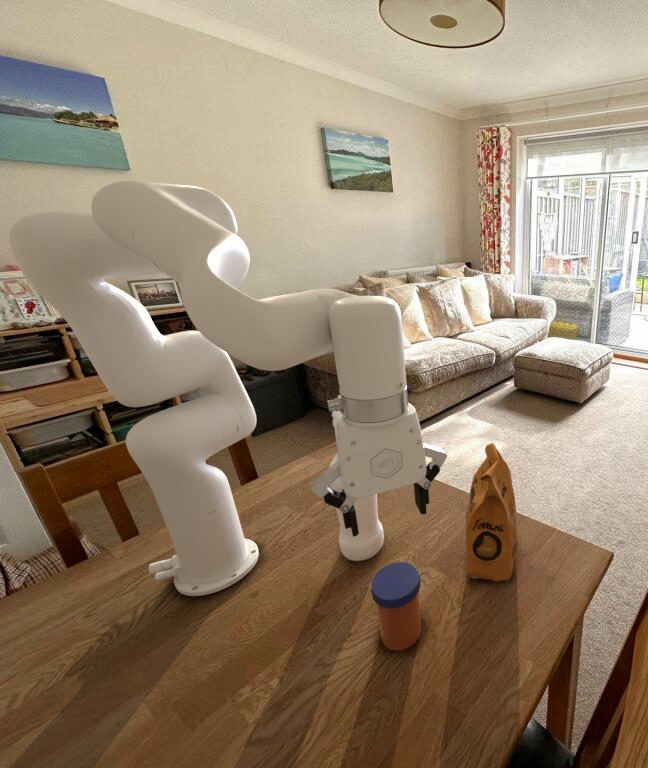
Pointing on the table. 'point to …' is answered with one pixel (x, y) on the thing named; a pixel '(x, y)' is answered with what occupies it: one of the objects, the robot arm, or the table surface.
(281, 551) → the table surface
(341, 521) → the bottle
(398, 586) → the lid
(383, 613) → the jar
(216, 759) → the table surface
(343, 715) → the table surface
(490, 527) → the coffee package
